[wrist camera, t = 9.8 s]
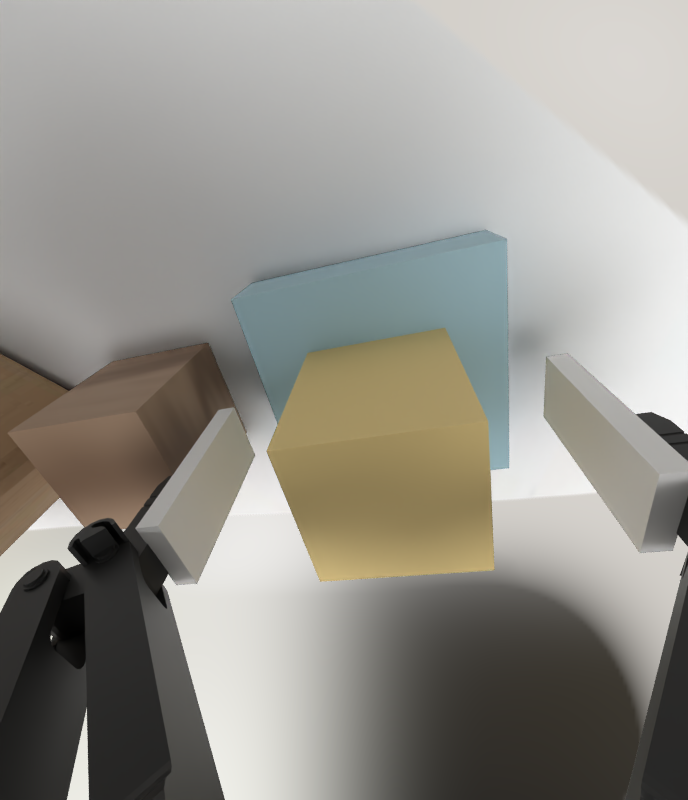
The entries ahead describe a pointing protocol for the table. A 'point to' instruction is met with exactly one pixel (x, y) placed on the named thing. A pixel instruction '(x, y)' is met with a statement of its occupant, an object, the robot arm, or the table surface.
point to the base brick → (390, 316)
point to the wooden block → (6, 463)
